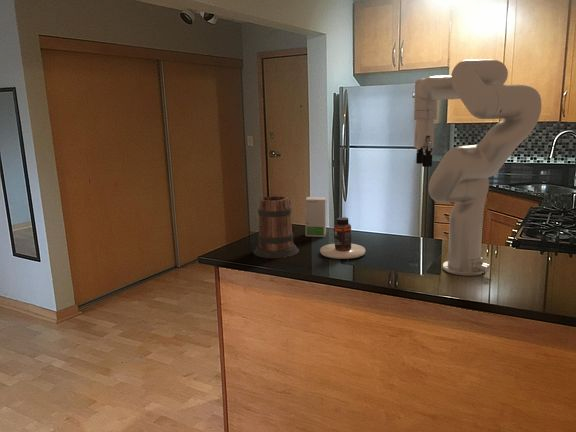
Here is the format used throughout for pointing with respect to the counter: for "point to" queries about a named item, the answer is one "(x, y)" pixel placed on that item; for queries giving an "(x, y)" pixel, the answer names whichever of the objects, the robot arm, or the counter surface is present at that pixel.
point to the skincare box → (316, 216)
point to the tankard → (275, 228)
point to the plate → (333, 253)
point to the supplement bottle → (342, 234)
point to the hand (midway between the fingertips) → (423, 165)
